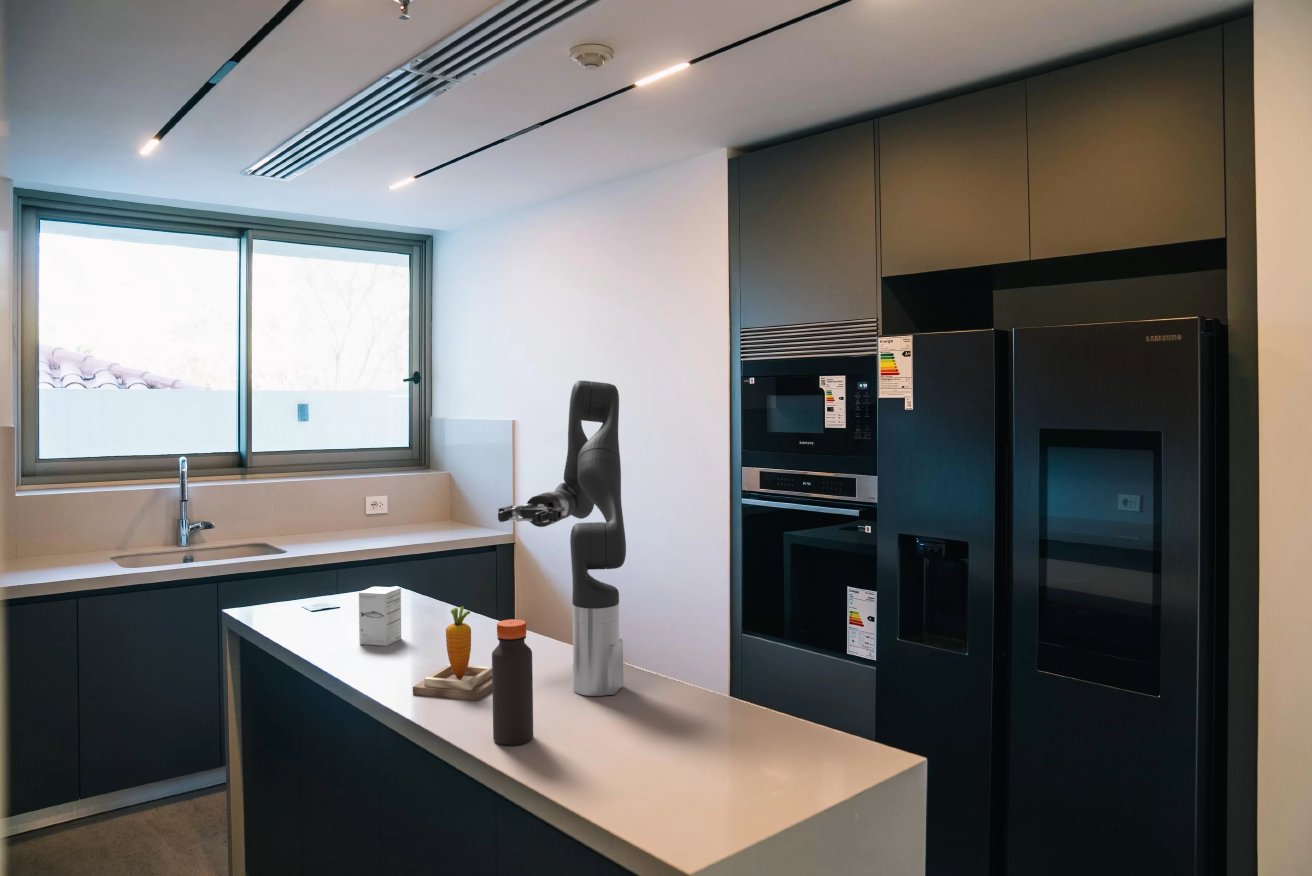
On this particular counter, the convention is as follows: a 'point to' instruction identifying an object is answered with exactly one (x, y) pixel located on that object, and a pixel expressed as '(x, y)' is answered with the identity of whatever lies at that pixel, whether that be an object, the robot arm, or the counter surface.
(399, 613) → the supplement box
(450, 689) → the beige wooden tray
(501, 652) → the bottle
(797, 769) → the counter surface
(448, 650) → the carrot
